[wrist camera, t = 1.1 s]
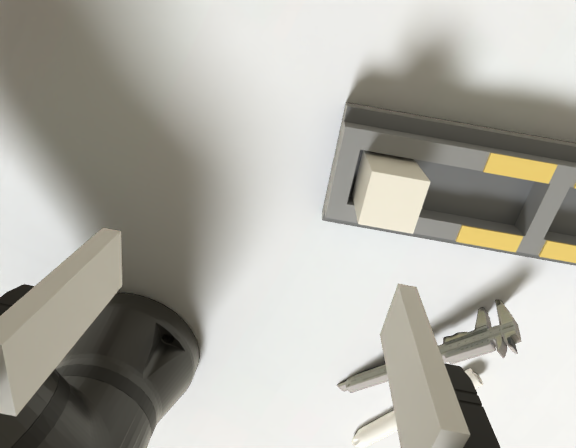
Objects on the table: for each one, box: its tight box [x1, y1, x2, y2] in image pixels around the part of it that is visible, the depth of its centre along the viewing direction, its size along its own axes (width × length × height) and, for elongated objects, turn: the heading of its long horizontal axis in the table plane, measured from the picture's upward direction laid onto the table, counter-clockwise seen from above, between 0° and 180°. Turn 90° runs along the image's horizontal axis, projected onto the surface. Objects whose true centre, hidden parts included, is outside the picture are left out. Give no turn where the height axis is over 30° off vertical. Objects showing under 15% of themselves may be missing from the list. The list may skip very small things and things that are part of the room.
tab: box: [352, 150, 430, 234], centre depth 30 cm, size 4×4×6 cm
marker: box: [352, 368, 483, 447], centre depth 46 cm, size 18×2×2 cm, turn 135°
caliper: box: [337, 300, 521, 393], centre depth 40 cm, size 20×1×6 cm, turn 131°
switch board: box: [322, 102, 576, 265], centre depth 33 cm, size 34×10×4 cm, turn 81°
